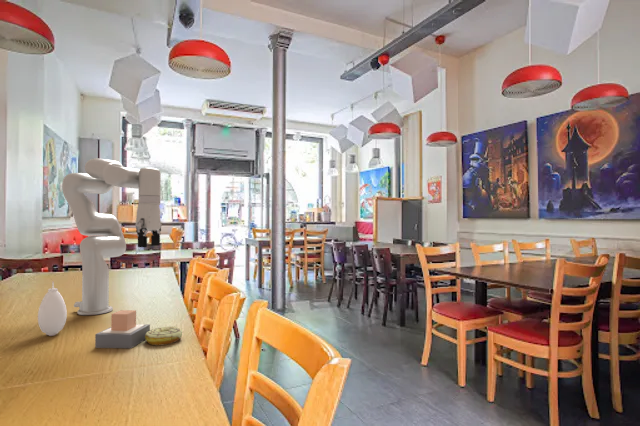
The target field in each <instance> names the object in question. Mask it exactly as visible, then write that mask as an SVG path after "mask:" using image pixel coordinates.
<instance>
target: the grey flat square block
mask: <svg viewBox="0 0 640 426" xmlns="http://www.w3.org/2000/svg"><path fill="white" fill-rule="evenodd" d="M150 330H151V324H145V323H144V324H142V323H139V324H138V323H136V326H135V327H133V328H131V329H130V330H128V331H112V330H111V326H110V327H108V328H106V329H103V330H101V331H99V332H97V333H95V337H94V338H95V339H94V341H95V344H94V346H95V349H97V348H98V349H132V348H133V347H136V346H137V345H138V344H141V343H142V342H144V341H146V339H145V335H146V333H147V332H148V331H150Z"/></svg>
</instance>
